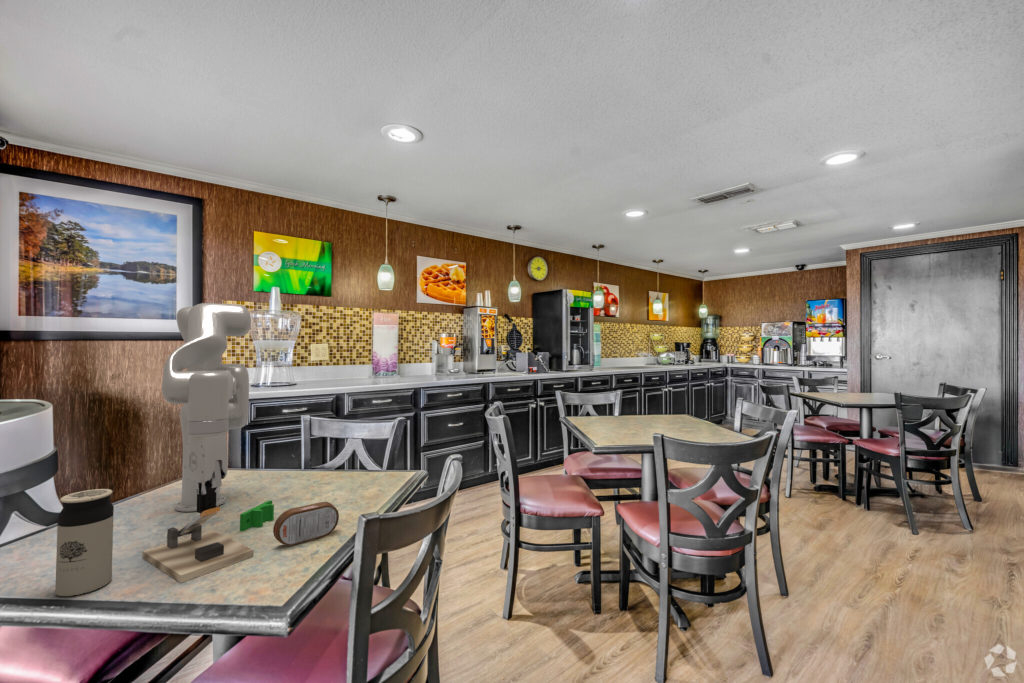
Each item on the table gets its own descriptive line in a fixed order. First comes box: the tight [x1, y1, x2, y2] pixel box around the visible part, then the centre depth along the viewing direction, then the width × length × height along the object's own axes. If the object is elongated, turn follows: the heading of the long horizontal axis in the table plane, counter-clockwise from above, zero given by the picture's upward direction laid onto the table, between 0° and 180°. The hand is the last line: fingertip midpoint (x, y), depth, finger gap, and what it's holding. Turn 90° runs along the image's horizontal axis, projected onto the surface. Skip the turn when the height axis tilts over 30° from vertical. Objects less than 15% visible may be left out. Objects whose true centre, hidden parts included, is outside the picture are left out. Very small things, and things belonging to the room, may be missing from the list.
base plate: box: [141, 524, 254, 584], centre depth 100 cm, size 20×14×6 cm
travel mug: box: [54, 488, 115, 597], centre depth 88 cm, size 8×8×18 cm
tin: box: [272, 501, 340, 547], centre depth 110 cm, size 15×3×8 cm, turn 135°
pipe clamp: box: [239, 499, 275, 532], centre depth 120 cm, size 11×4×5 cm, turn 173°
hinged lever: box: [178, 506, 221, 538], centre depth 101 cm, size 16×3×1 cm, turn 58°
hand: (206, 511), depth 98 cm, fingers closed
